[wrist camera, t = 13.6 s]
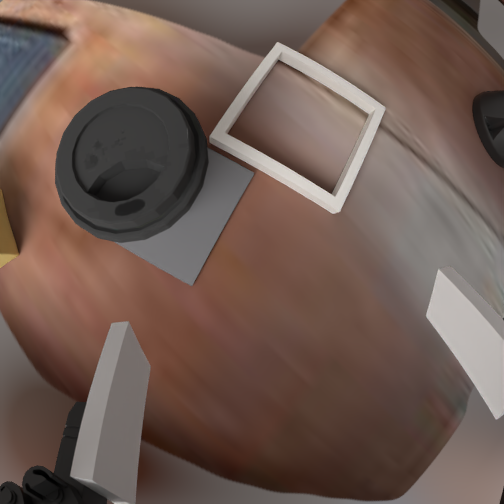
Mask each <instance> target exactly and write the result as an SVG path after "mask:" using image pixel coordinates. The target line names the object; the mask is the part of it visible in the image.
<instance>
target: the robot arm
mask: <svg viewBox="0 0 504 504" xmlns="http://www.w3.org/2000/svg"><path fill="white" fill-rule="evenodd" d="M473 116H474V121H475V125H476V128H477V131H478V134H479V136H480V139H481V141H482V143H483V145H484V147H485V149H486V150H487V152H488V153H489V155H490V156H491V158H492V159H493V160H494V161H495V162H496V163H497V164H498V165H499V166H501V167H503V168H504V90H503V91H486V92H483V93H481V94H480V95H478V96H476V97H475V99H474V102H473ZM426 317H427V318H428V320H429V321H430V322H431V324H432V325H433V326H434V328H435V329H436V330H437V332H438V333H439V334H440V336H441V337H442V339H443V340H444V341H445V343H446V344H447V345H448V347H449V348H450V350H451V351H452V352H453V354H454V355H455V357H456V358H457V360H458V361H459V362H460V364H461V365H462V367H463V368H464V370H465V371H466V373H467V374H468V376H469V377H470V379H471V380H472V382H473V383H474V385H475V386H476V388H477V389H478V391H479V393H480V394H481V396H482V397H483V399H484V401H485V402H486V404H487V405H488V407H489V409H490V410H491V412H492V413H493V415H494V417H495V418H496V419H498V418H499V417H501V416H502V415H504V318H503V319H502V318H501V317H500V316H499V315H498V313H497V312H496V311H495V310H494V309H493V308H492V307H491V306H490V305H489V304H488V303H487V302H486V301H485V300H484V299H483V298H482V297H481V295H480V294H479V293H478V292H477V291H476V290H475V289H474V288H473V287H472V286H471V285H470V284H469V283H468V282H467V281H466V280H465V279H464V278H463V277H461V276H460V275H459V274H458V273H457V272H456V271H455V270H454V269H453V268H452V267H451V266H448V267H444V268H440V269H438V272H437V277H436V281H435V285H434V289H433V292H432V296H431V300H430V303H429V307H428V310H427V314H426ZM150 368H151V366H150V364H149V362H148V360H147V359H146V357H145V355H144V353H143V351H142V349H141V347H140V344H139V342H138V340H137V338H136V336H135V334H134V332H133V330H132V328H131V326H130V323H129V321H128V322H117V323H112V324H111V327H110V330H109V333H108V335H107V338H106V341H105V344H104V347H103V350H102V353H101V356H100V360H99V363H98V366H97V369H96V372H95V376H94V379H93V382H92V386H91V389H90V393H89V396H88V400H87V402H76V403H75V405H74V407H73V408H72V409H71V411H70V412H69V414H68V418H67V422H66V428H65V429H64V432H63V438H62V440H61V444H60V448H59V452H58V457H57V461H56V466H55V471H54V473H52V472H51V471H50V470H48V469H47V468H45V467H43V466H34V467H31V468H30V469H29V470H28V471H27V472H26V473H25V475H24V477H23V482H22V486H23V487H20V486H18V485H17V484H15V483H13V482H8V481H7V482H5V483H3V484H2V485H1V486H0V504H107V500H109V501H111V502H113V503H115V504H135V499H136V484H137V471H138V460H139V449H140V440H141V432H142V423H143V415H144V408H145V401H146V394H147V387H148V380H149V374H150ZM500 504H504V488H503V493H502V496H501V500H500Z"/></svg>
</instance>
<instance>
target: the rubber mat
mask: <svg viewBox="0 0 504 504" xmlns="http://www.w3.org/2000/svg"><path fill="white" fill-rule="evenodd" d="M207 149H208V160H209V163H208V167H207V172H206V176H205V180H204V184H203V188H202V189H201V191H200V193H199V194H198V196H197V198H196V200H195V201H194V203H193V205H192V206H191V208H190V210H189V211H188V212H187V213H186V214H184V215H183V216H182V217H181V218H180V219H179V220H178V221H177V222H176V223H175V224H174V225H173V226H172V227H170V228H169V229H167V230H165V231H163V232H161V233H159V234H157V235H155V236H153V237H150V238H148V239H146V240H140V241H133V242H125V243H119V242H115V243H117V244H119V245H120V246H122V247H124V248H125V249H127V250H129V251H130V252H132V253H134V254H136V255H137V256H139V257H141V258H142V259H144V260H146V261H148V262H149V263H151V264H153V265H155V266H156V267H158V268H160V269H162V270H163V271H165V272H167V273H169V274H171V275H172V276H174V277H176V278H178V279H180V280H181V281H183V282H185V283H187V284H189V285H191V286H192V285H193V283H194V281H195V279H196V278H197V276H198V274H199V272H200V270H201V268H202V266H203V265H204V263H205V261H206V259H207V257H208V255H209V253H210V252H211V250H212V248H213V246H214V244H215V242H216V241H217V239H218V237H219V235H220V233H221V232H222V230H223V228H224V226H225V224H226V223H227V221H228V219H229V217H230V215H231V214H232V212H233V210H234V208H235V206H236V205H237V203H238V201H239V199H240V198H241V196H242V194H243V192H244V191H245V189H246V187H247V185H248V184H249V182H250V180H251V178H252V177H253V175H254V173H253V172H252V171H250V170H248V169H246V168H244V167H243V166H241V165H239V164H237V163H235V162H233V161H232V160H230V159H228V158H226V157H224V156H222V155H220V154H219V153H217V152H215V151H213V150H211V149H209V148H207Z"/></svg>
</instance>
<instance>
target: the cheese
mask: <svg viewBox="0 0 504 504" xmlns="http://www.w3.org/2000/svg"><path fill="white" fill-rule="evenodd" d="M17 256H19V253H18V249H17V246H16V242H15V239H14V236H13V232H12V229H11V226H10V223H9V220H8V216H7V212H6V207H5V203H4V198H3V193H2V190H1V189H0V268H1V267H2V266H4V265H5V264H6V263H8V262H9V261H11V260H12V259H14V258H15V257H17Z"/></svg>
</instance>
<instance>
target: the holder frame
mask: <svg viewBox="0 0 504 504" xmlns="http://www.w3.org/2000/svg"><path fill="white" fill-rule="evenodd" d="M278 60H280V61H282V62H284V63H286V64H288V65H290V66H292V67H293V68H295V69H297V70H299V71H301V72H303V73H304V74H306V75H308V76H310V77H311V78H313V79H315V80H317V81H318V82H320V83H322V84H323V85H325V86H327V87H328V88H330V89H332V90H333V91H335V92H336V93H338V94H339V95H341V96H343V97H344V98H346V99H347V100H349V101H350V102H352V103H353V104H355V105H356V106H358V107H359V108H361V109H362V110H364V111H365V112H366V113H368V114H369V116H368V118H367V120H366V122H365V125H364V127H363V129H362V131H361V133H360V136H359V138H358V140H357V142H356V144H355V146H354V148H353V151H352V153H351V155H350V157H349V159H348V161H347V163H346V165H345V168H344V170H343V172H342V174H341V176H340V178H339V180H338V182H337V184H336V186H335V188H334V190H333V192H332V194H330V193H328V192H327V191H325V190H323V189H322V188H320V187H319V186H317V185H315V184H314V183H312V182H311V181H309V180H307V179H306V178H304V177H302V176H301V175H299V174H297V173H296V172H294V171H292V170H291V169H289V168H287V167H286V166H284V165H282V164H281V163H279V162H277V161H275V160H274V159H272V158H270V157H268V156H267V155H265V154H263V153H261V152H259V151H258V150H256V149H254V148H252V147H250V146H249V145H247V144H245V143H243V142H241V141H239V140H237V139H236V138H234V137H232V136H230V135H228V134H227V133H228V132H229V130H230V129H231V127H232V126H233V124H234V123H235V121H236V120H237V118H238V117H239V115H240V114H241V112H242V111H243V109H244V108H245V106H246V105H247V103H248V102H249V100H250V99H251V97H252V96H253V95H254V93H255V92H256V90H257V89H258V87H259V86H260V85H261V83H262V82H263V80H264V79H265V78H266V76H267V75H268V73H269V72H270V71H271V69H272V68H273V67H274V65H275V64H276V62H277V61H278ZM385 109H386V108H385V107H384V106H383V105H381V104H380V103H379V102H377V101H376V100H374V99H373V98H372V97H370V96H369V95H367V94H366V93H364V92H363V91H361V90H360V89H358V88H357V87H355V86H354V85H352V84H351V83H349V82H348V81H346V80H345V79H343V78H341V77H340V76H338V75H337V74H335V73H333V72H332V71H330V70H328V69H327V68H325V67H323V66H322V65H320V64H318V63H316V62H315V61H313V60H311V59H309V58H308V57H306V56H304V55H302V54H300V53H298V52H296V51H294V50H292V49H291V48H289V47H287V46H285V45H283V44H281V43H279V42H277V43H276V45H275V46H274V47H273V49H272V50H271V51H270V52H269V54H268V55H267V56H266V57H265V59H264V60H263V61H262V63H261V64H260V65H259V67H258V68H257V69H256V71H255V72H254V73H253V75H252V76H251V77H250V79H249V80H248V81H247V83H246V84H245V85H244V87H243V88H242V90H241V91H240V92H239V94H238V95H237V97H236V98H235V99H234V101H233V102H232V104H231V105H230V107H229V108H228V110H227V111H226V112H225V114H224V115H223V117H222V118H221V120H220V121H219V123H218V124H217V126H216V127H215V129H214V130H213V132H212V133H211V135H210V136H209V143H211V144H213V145H215V146H217V147H218V148H220V149H222V150H224V151H226V152H228V153H230V154H232V155H233V156H235V157H237V158H239V159H241V160H243V161H244V162H246V163H248V164H250V165H252V166H253V167H255V168H257V169H259V170H261V171H262V172H264V173H266V174H268V175H269V176H271V177H273V178H275V179H276V180H278V181H280V182H281V183H283V184H285V185H287V186H288V187H290V188H292V189H293V190H295V191H297V192H298V193H300V194H302V195H303V196H305V197H307V198H308V199H310V200H312V201H313V202H315V203H316V204H318V205H320V206H321V207H323V208H324V209H326V210H328V211H329V212H331V213H332V214H334V213H337V212H340V210H341V208H342V206H343V204H344V202H345V200H346V198H347V195H348V193H349V191H350V189H351V187H352V185H353V183H354V180H355V178H356V176H357V174H358V172H359V169H360V167H361V165H362V163H363V160H364V158H365V156H366V154H367V151H368V149H369V147H370V145H371V142H372V140H373V138H374V135H375V133H376V131H377V128H378V126H379V123H380V121H381V119H382V116H383V114H384V111H385Z"/></svg>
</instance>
